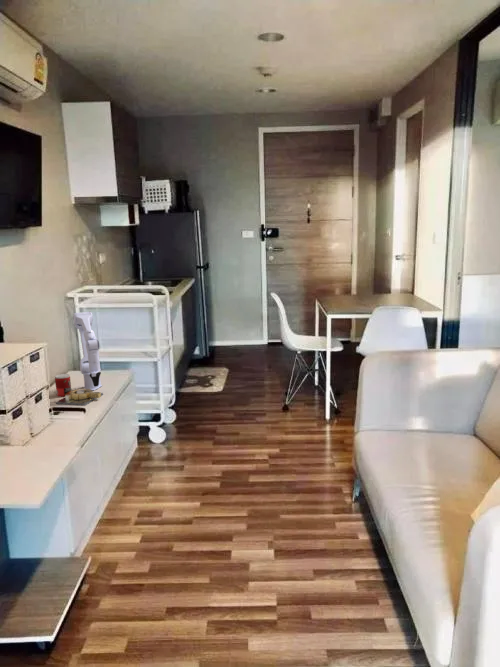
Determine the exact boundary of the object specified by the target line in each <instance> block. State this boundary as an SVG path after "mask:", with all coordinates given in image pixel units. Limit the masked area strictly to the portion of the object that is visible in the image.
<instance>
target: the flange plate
mask: <svg viewBox="0 0 500 667" xmlns="http://www.w3.org/2000/svg"><path fill="white" fill-rule="evenodd" d="M76 390H77V391H76V392H77V394H81V393H85V392H84V390H78V389H76ZM103 395H104V393H103V392H101V397H102V396H103ZM97 399H98V398H86V399H80V400H74V399H71V395H65V397H62V398H61V399H59V400H57V401H56V402H55V404H56V405H67V406H68V405H69V406H70V405H72V406H87V405H88V404H90V403H91V402H93V401H95V400H97Z"/></svg>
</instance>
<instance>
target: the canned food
mask: <svg viewBox="0 0 500 667" xmlns="http://www.w3.org/2000/svg"><path fill="white" fill-rule="evenodd" d="M54 382H55V391H56V396H57V397H60V398H65V395H69V392H71V391H72V383H71V375H70V374H69V373H68V374H67V373H62V374H56V375H55V376H54Z"/></svg>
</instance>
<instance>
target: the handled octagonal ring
mask: <svg viewBox="0 0 500 667" xmlns="http://www.w3.org/2000/svg"><path fill="white" fill-rule="evenodd" d="M77 390H84V392H85V393H81V394H77V392H76V391H77ZM101 393H102V392H100V391H99V392H98V391H93V390H90V389H83V388H80V389H75V390H71V392H69V395H71V399H74V400H80V399H86V398H97V399H99V398H102V396H101Z"/></svg>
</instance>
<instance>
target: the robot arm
mask: <svg viewBox="0 0 500 667" xmlns="http://www.w3.org/2000/svg"><path fill="white" fill-rule="evenodd" d="M72 315H73V325H74V328H76V329H77V330H78V332H79V336H80V342H81V347H82V355H83V357H82V358H81V359H80V360H79V369H80V373H81V375H83V382H84V387H83V388H82V389H90V390H91V391H96V390H98V389H99V388H102V387H103V385H102V382H101V374H102V373H101V371H102V370H101V363H100V362H101V361H100V351H99V350H100V348H101V347H100V340H99V338H97V337H96V333H95V331H94V330H93V329H92V324H93V320H94V317H93V316H94V315H93V313H92V312H91V311H83V312H73V314H72Z"/></svg>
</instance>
